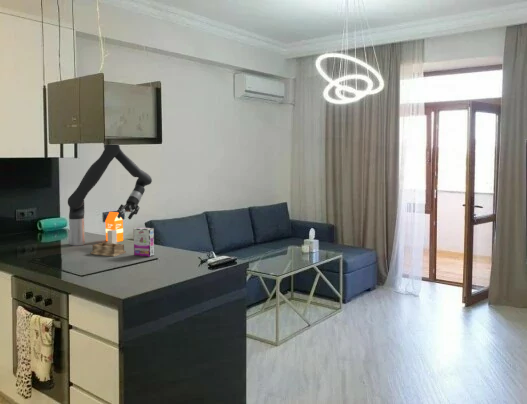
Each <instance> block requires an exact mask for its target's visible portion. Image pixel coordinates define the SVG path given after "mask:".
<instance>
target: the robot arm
mask: <svg viewBox="0 0 527 404" xmlns="http://www.w3.org/2000/svg"><path fill="white" fill-rule="evenodd" d="M103 148H104V149H103V152H102V153H101V154H100V156H99V158H98V159H96V160H95V161H94V162H93V163H92V164H91V165H90V167H88V169H87V171H86V172H85V174H84V176H83V177H82V179H81V180H80V183H79V184H78V186H77V188H76V189H75V190H74V191H73V192H72V194H71V195H70V196H69V197H68V199H67V205H68V207H69V213H68V225H69V227H68V228H69V229H68V234H67V235H68V237H67V238H68V245H70V246H83V245H85V244H86V236H85V235H86V234H85V233H86V232H85V198H86V197H87V195H88V194H89V192H90V191H91V190H92V189H93V188H94V187H95V186H96V185H97V184H98V183H99V181H100V180H101V178H102V176H103V175H104V173H105V172H106V170H107V169H108V167H109V165H110V163H111V162H112V161H113V160H114V158H115V159H116V160H117V161H118V162H119V163H120V165H122V167H123V168H124V169H125V170H126V171H127V172H128V173H129V174H130V175H131V176H132V177H133V178H137V179H136V181H135V185H134V188H133V189H132V191H131V193H130V195H129V196H128V197H127V200H126V201H125V204H123V203H122V204H120V206H119V207H118V208H117V211H116V212H118V213H119V214H118V215H117V217H118V219H120V217H121V218H122V216H123V214H125V213H129V215H128V216H127V218H128V220H131V219H132V218H133V217H134V215H135V216H136V215H137V214H138V212H139V210H140V206H139V203H140V201H141V199H142V197H143V195H144V193H145V192H146V191H145V190H146V189H145V187H146V186H149V185H151V184H152V182H153V180H152V176H151V175H149V173H147V172H145V170H143V169H141V168H140V167H139V166H138V165H137V164H136V163H135V162H134V161H133V160H132V159H130V157H128V156H127V155H126V154H125V153H124V151H123V150H122V149H121V146H120V144H119V145H104V144H103Z"/></svg>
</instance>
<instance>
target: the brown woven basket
mask: <svg viewBox="0 0 527 404" xmlns="http://www.w3.org/2000/svg"><path fill="white" fill-rule="evenodd" d="M91 247H92V249H91V250H92V251H90V255H95V256H96V255H97V256H104V257H106V256H107V257H116V256H119V255H120V256H121V255H124V254H126V253H127V251H126V250H125V244H123V243H122V244H121V243H117V244H113V243H108V242H100V243H96V244H93V245H92V246H91Z"/></svg>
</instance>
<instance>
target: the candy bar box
mask: <svg viewBox="0 0 527 404" xmlns="http://www.w3.org/2000/svg"><path fill="white" fill-rule="evenodd" d="M154 232H155V228H154V227H151V228H150V227H135V228H133V255H134V256H135V257H148V258H149V257H153V256H155V233H154Z"/></svg>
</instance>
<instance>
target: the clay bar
mask: <svg viewBox="0 0 527 404" xmlns="http://www.w3.org/2000/svg"><path fill="white" fill-rule="evenodd" d="M107 236H108V241H107V243H113V244H118V242H117V230H109V231H107Z"/></svg>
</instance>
